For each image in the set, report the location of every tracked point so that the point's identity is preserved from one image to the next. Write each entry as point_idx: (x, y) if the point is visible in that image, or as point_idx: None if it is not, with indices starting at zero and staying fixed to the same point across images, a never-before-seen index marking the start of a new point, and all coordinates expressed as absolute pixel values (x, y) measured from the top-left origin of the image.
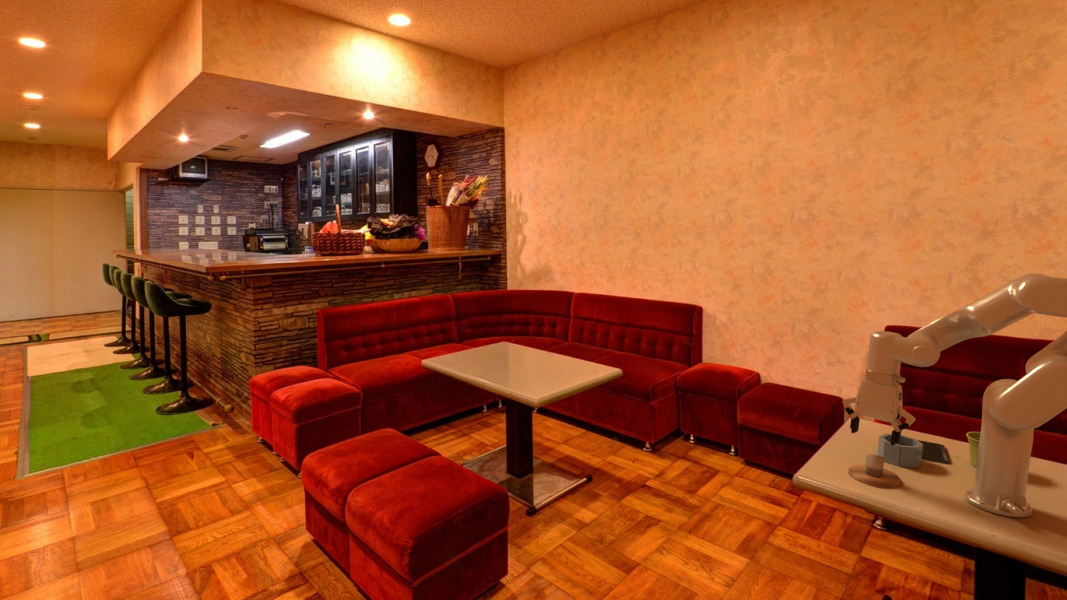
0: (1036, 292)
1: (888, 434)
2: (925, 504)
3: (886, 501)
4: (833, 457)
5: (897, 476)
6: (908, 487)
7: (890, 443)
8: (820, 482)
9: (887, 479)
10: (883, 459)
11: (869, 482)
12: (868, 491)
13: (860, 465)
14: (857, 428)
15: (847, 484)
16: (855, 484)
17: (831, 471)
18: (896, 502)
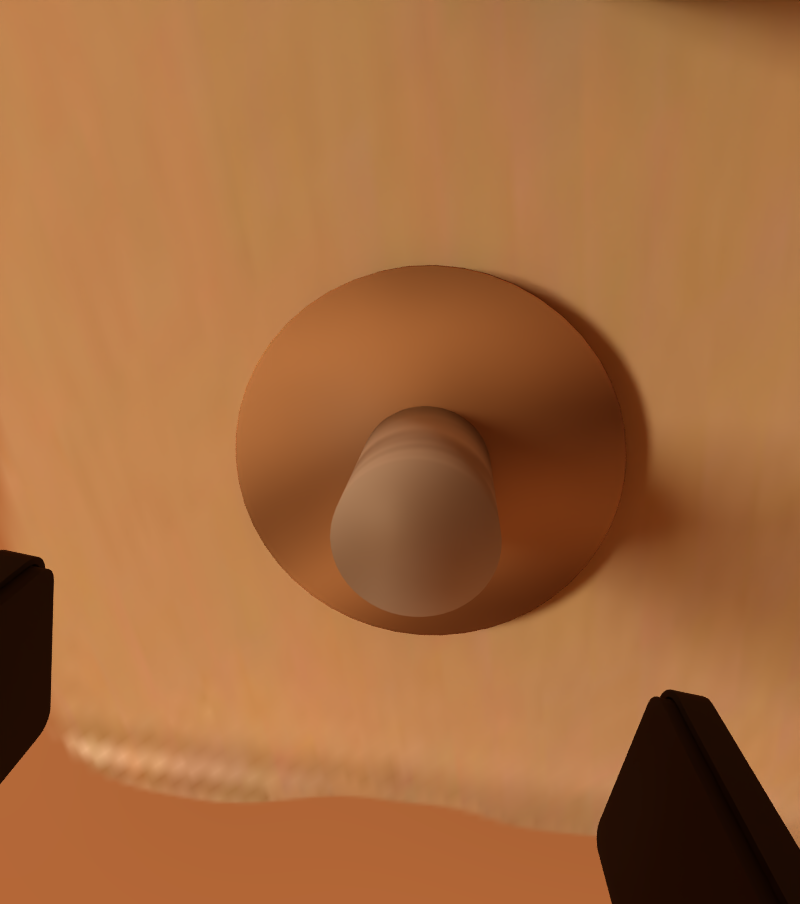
0: None
1: None
2: (771, 702)
3: (541, 787)
4: (55, 215)
5: (604, 389)
6: (679, 488)
7: (599, 847)
8: (161, 750)
9: (530, 507)
10: (496, 561)
11: (418, 631)
12: (429, 715)
13: (297, 339)
14: (11, 644)
15: (298, 688)
16: (340, 660)
17: (151, 542)
18: (596, 769)
